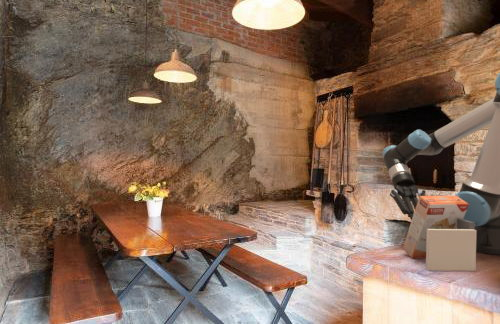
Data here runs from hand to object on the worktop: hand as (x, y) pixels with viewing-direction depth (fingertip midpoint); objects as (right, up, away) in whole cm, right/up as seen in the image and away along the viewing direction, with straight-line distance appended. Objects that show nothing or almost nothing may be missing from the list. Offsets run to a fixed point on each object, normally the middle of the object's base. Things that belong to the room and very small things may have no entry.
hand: (422, 230), depth 116 cm
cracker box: (+1, -8, -1) cm, 8 cm away
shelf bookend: (+1, -9, -11) cm, 14 cm away
